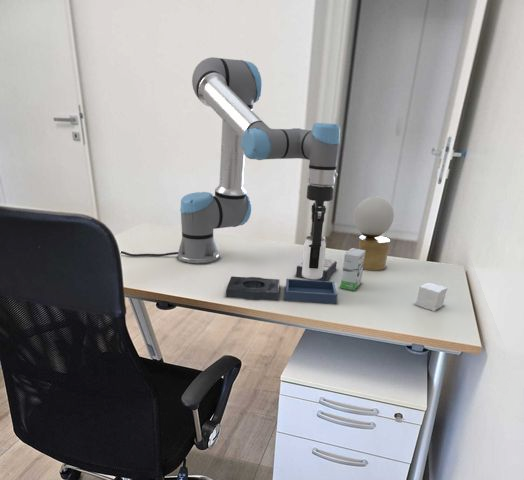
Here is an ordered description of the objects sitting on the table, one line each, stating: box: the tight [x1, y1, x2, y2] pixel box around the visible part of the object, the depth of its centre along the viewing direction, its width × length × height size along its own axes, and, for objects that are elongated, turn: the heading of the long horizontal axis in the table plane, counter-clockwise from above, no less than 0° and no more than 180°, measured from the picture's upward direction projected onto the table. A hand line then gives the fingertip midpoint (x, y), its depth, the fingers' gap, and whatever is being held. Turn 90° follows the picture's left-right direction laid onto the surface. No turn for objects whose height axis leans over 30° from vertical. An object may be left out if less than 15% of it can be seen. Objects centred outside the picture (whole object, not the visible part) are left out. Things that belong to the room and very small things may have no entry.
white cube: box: [415, 282, 448, 312], centre depth 134 cm, size 6×6×6 cm
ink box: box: [339, 247, 365, 291], centre depth 145 cm, size 9×5×12 cm, turn 153°
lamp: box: [353, 195, 395, 272], centre depth 163 cm, size 15×14×25 cm
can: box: [302, 235, 327, 281], centre depth 133 cm, size 6×6×12 cm
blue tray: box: [284, 278, 338, 305], centre depth 138 cm, size 16×12×3 cm
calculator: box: [295, 258, 338, 281], centre depth 157 cm, size 11×4×15 cm
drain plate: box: [225, 275, 281, 301], centre depth 139 cm, size 16×13×2 cm
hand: (313, 264), depth 134 cm, fingers closed on can, 6 cm apart
